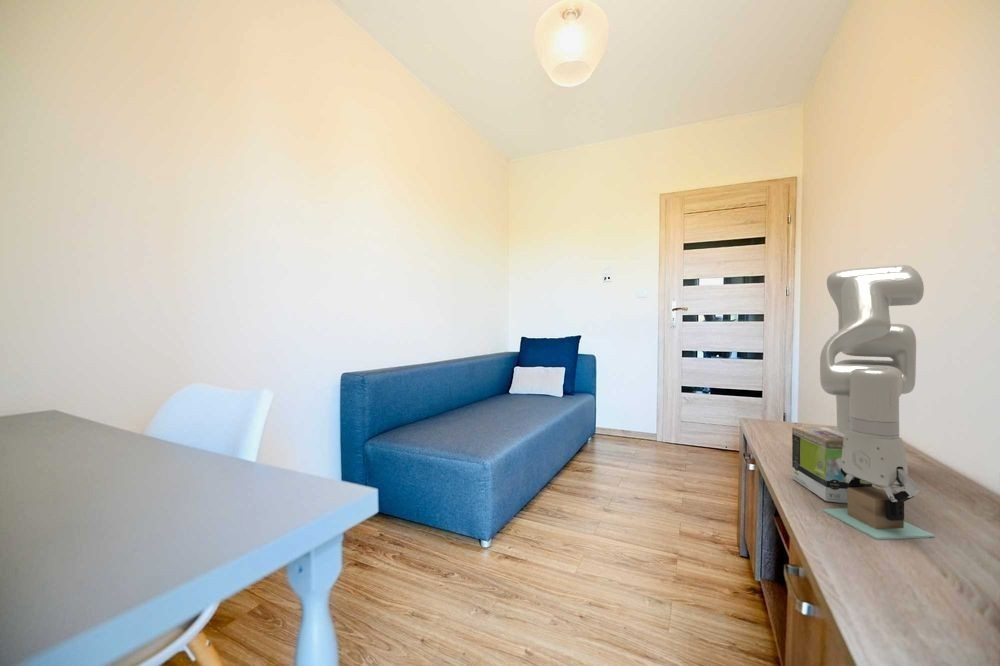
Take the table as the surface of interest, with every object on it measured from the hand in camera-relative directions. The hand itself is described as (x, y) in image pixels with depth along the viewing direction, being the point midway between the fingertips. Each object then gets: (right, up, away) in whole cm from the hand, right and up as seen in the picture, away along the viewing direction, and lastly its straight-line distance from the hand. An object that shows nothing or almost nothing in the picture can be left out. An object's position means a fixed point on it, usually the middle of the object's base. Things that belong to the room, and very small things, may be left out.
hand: (874, 509), depth 81 cm
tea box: (+4, -3, +16) cm, 17 cm away
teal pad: (0, -3, 0) cm, 3 cm away
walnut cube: (0, -2, 0) cm, 2 cm away
